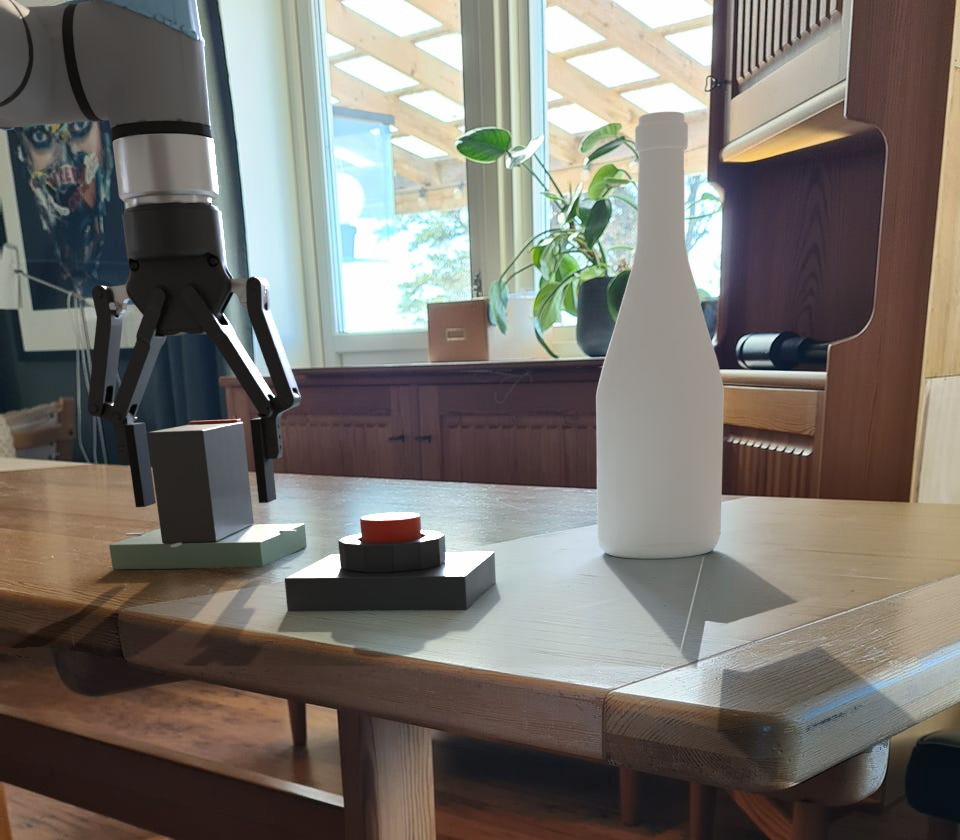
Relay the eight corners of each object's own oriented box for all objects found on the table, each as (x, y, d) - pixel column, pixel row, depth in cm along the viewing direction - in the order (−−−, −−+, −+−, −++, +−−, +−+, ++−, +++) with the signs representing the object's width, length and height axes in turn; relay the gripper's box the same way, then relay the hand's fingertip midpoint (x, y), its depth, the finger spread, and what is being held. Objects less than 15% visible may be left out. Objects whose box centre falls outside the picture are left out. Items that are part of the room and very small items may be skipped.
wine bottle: (647, 539, 107) (648, 130, 96) (744, 547, 100) (757, 110, 89) (572, 555, 100) (565, 119, 89) (671, 564, 94) (676, 97, 83)
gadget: (216, 541, 102) (202, 426, 99) (161, 543, 103) (146, 429, 100) (254, 523, 112) (242, 418, 109) (204, 525, 113) (192, 421, 110)
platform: (88, 574, 103) (83, 546, 102) (167, 546, 117) (163, 521, 116) (266, 571, 100) (263, 543, 99) (326, 543, 114) (324, 518, 113)
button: (354, 548, 84) (352, 520, 84) (371, 539, 88) (369, 513, 87) (413, 547, 83) (411, 519, 83) (427, 538, 87) (426, 511, 86)
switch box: (287, 612, 84) (281, 550, 82) (333, 585, 93) (328, 528, 91) (466, 611, 81) (463, 546, 80) (496, 583, 90) (493, 525, 89)
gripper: (324, 200, 101) (347, 493, 109) (52, 218, 103) (95, 502, 112) (300, 190, 94) (327, 503, 102) (10, 209, 96) (59, 513, 105)
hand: (206, 503), depth 107 cm, fingers open, 10 cm apart
